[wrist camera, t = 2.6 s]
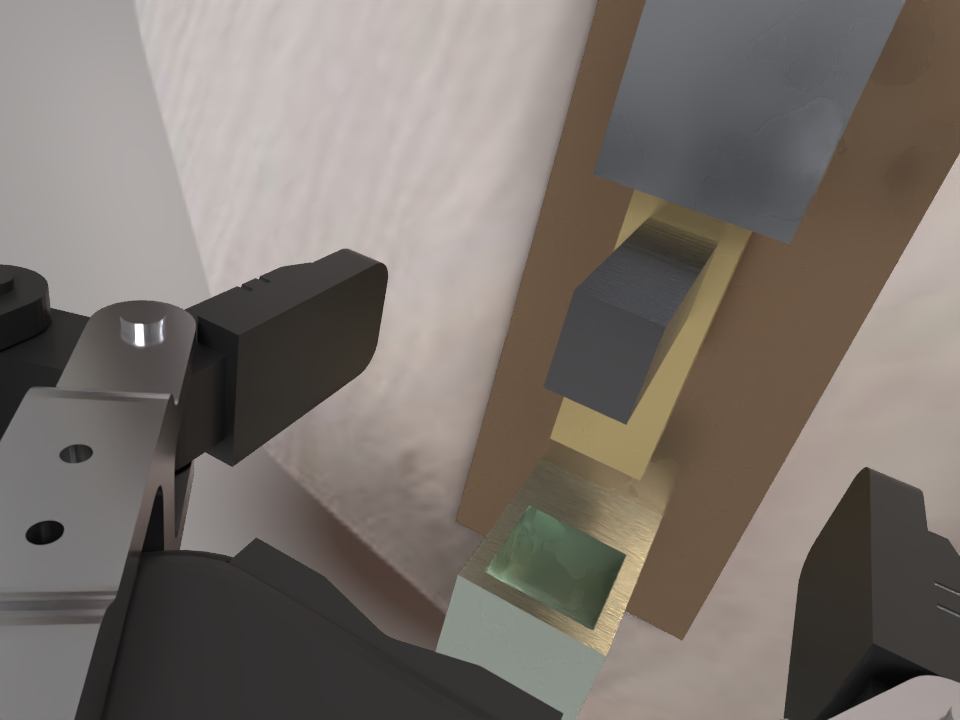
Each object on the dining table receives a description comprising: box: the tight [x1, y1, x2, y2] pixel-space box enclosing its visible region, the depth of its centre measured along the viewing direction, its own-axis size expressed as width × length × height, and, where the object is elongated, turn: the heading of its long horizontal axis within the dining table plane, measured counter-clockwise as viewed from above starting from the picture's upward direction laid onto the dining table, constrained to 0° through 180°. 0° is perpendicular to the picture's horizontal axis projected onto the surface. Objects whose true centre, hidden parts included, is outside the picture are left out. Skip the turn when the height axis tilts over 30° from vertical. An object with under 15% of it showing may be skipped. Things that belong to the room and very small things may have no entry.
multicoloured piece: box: [436, 0, 960, 720], centre depth 19 cm, size 30×10×8 cm, turn 167°
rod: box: [544, 190, 752, 481], centre depth 13 cm, size 19×3×8 cm, turn 167°
